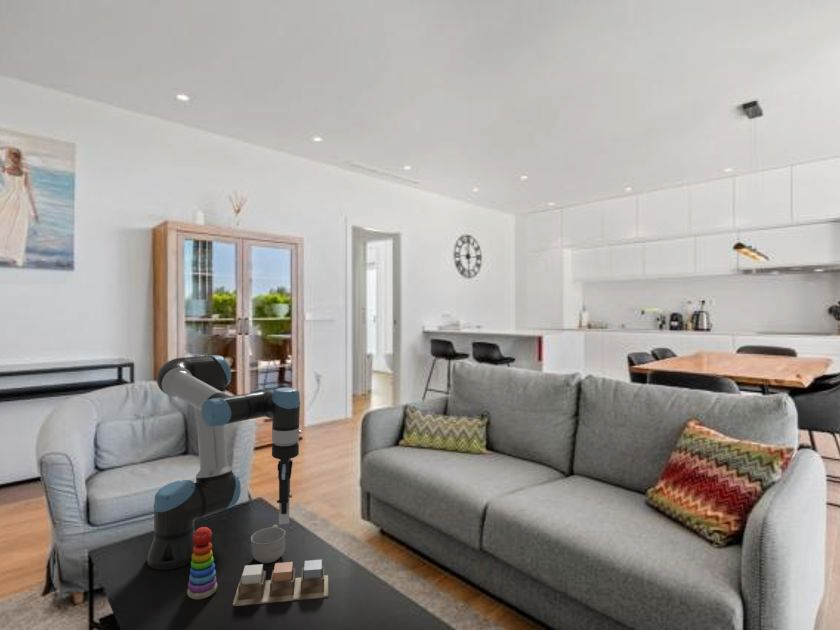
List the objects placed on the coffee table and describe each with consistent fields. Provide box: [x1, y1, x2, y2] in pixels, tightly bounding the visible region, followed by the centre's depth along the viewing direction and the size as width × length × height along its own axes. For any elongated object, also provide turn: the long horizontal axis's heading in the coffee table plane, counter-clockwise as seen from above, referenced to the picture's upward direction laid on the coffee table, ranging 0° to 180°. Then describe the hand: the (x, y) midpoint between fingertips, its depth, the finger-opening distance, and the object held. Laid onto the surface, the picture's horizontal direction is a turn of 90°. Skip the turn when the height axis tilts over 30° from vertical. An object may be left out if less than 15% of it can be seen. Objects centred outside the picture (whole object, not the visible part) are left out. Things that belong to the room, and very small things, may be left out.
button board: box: [232, 565, 329, 607], centre depth 138 cm, size 26×10×4 cm, turn 101°
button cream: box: [241, 563, 264, 585], centre depth 136 cm, size 5×5×4 cm
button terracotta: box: [273, 561, 294, 582], centre depth 138 cm, size 5×5×4 cm
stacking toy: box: [186, 526, 218, 600], centre depth 136 cm, size 8×8×19 cm
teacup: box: [250, 524, 286, 564], centre depth 156 cm, size 14×11×8 cm
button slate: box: [303, 559, 323, 579], centre depth 140 cm, size 5×5×4 cm
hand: (284, 522), depth 137 cm, fingers closed
